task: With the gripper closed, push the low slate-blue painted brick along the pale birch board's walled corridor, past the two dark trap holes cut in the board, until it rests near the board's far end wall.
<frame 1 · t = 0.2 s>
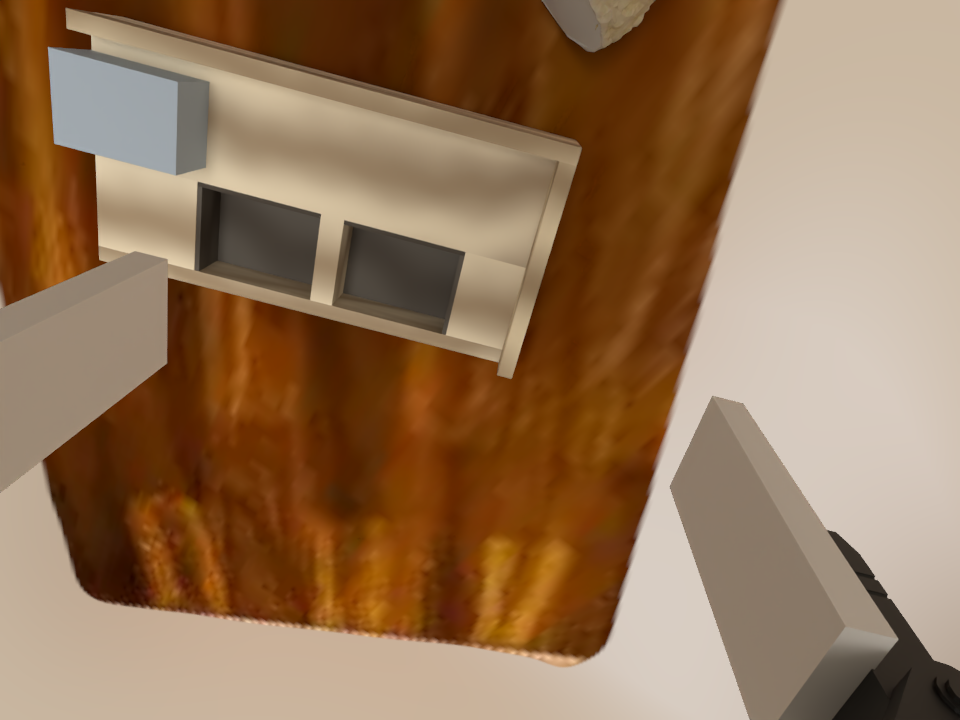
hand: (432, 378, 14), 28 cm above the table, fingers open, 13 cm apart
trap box: (336, 197, 40), on the table
block: (150, 110, 36), point 3 cm above the table, touching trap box
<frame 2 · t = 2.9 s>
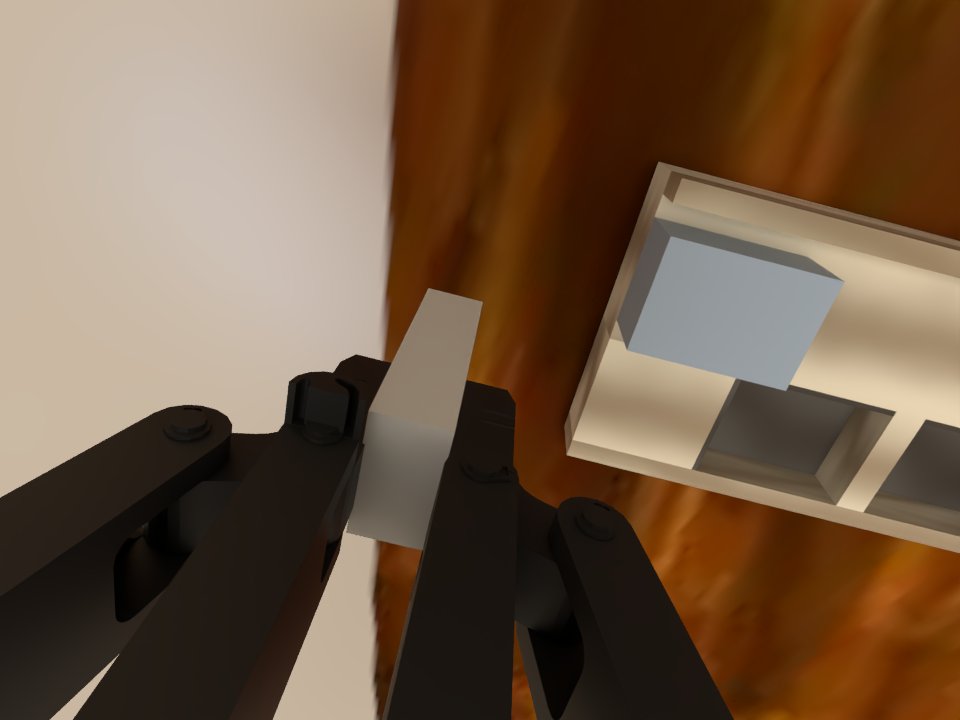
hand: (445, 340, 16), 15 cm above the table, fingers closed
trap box: (870, 375, 32), on the table
block: (708, 289, 27), point 3 cm above the table, touching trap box
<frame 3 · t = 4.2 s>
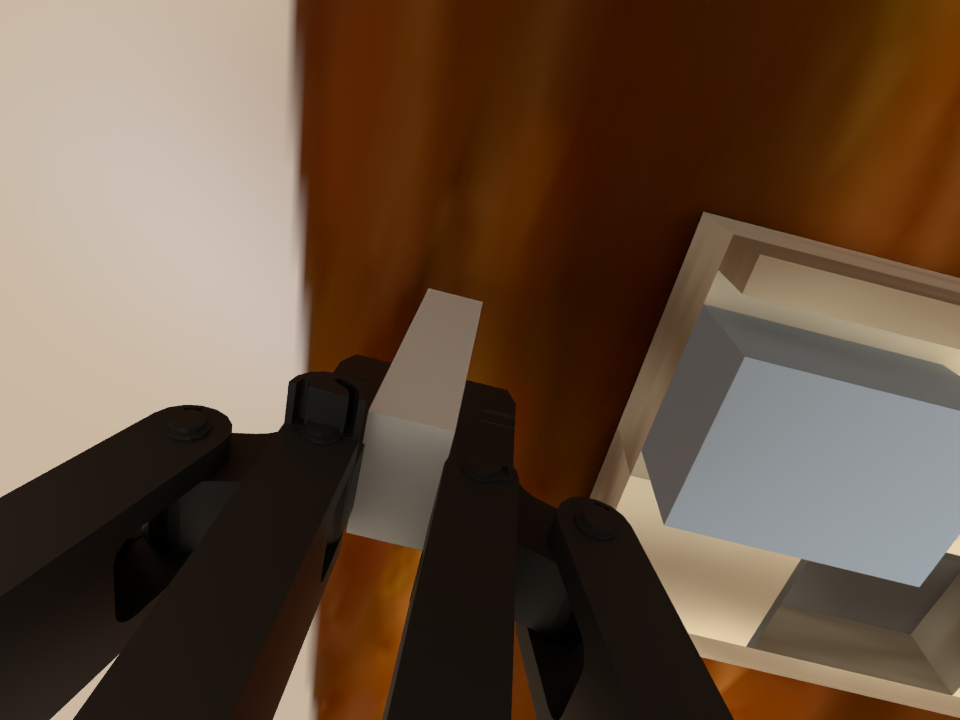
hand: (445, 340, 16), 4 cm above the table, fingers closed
block: (783, 409, 18), point 3 cm above the table, touching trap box
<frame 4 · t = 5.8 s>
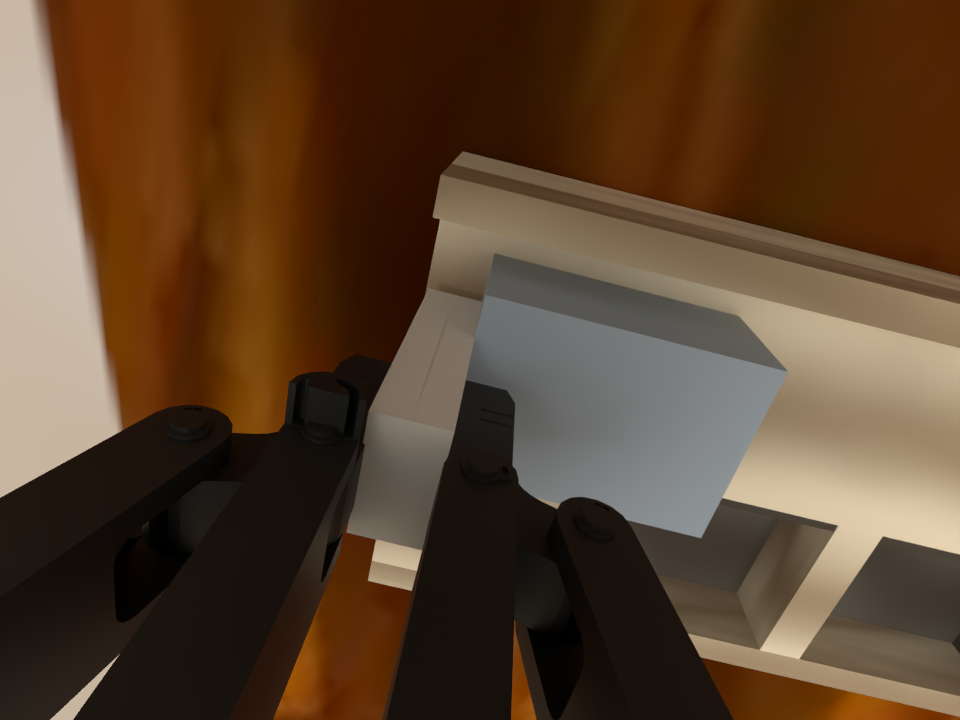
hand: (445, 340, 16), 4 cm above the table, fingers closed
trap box: (806, 459, 22), on the table
block: (589, 364, 17), point 3 cm above the table
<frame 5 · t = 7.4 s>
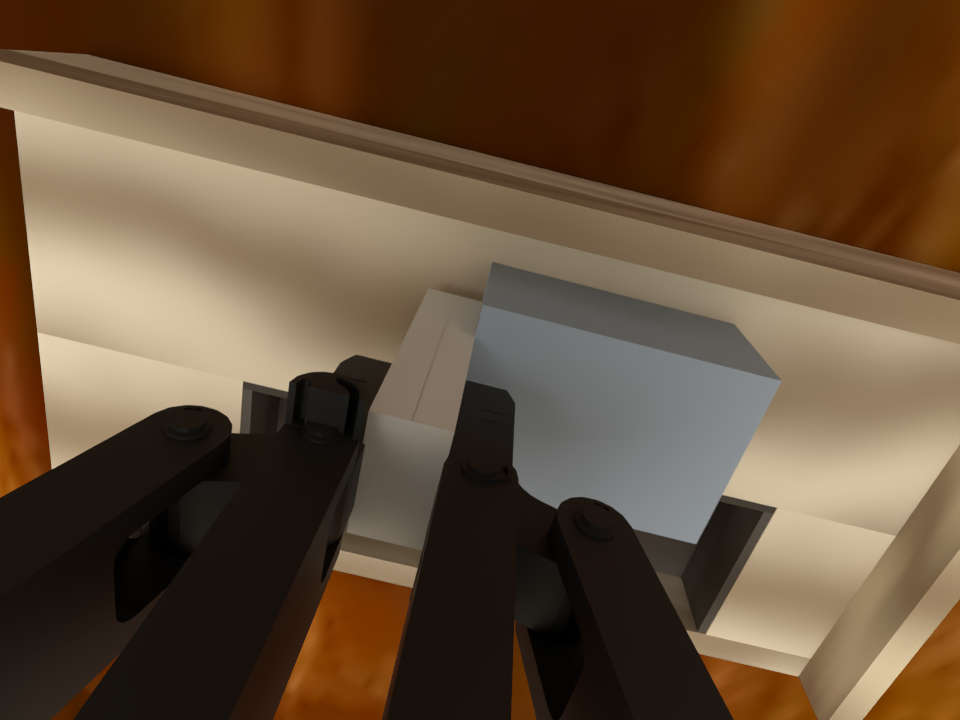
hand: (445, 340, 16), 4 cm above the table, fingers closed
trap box: (498, 383, 21), on the table
block: (586, 370, 18), point 3 cm above the table, touching gripper
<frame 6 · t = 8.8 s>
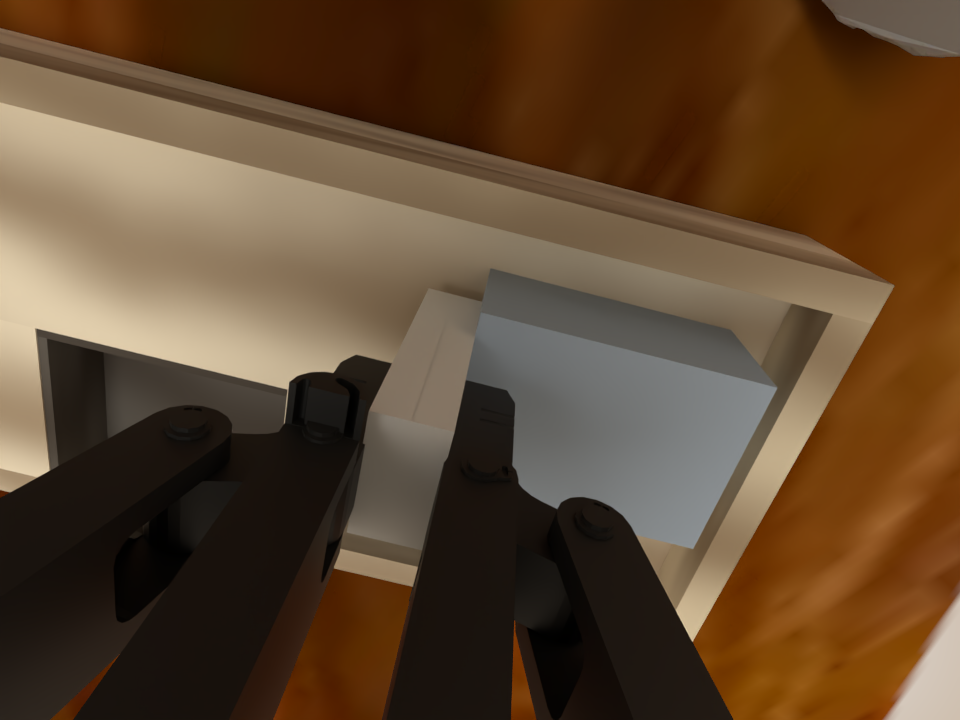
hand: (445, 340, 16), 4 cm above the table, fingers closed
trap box: (319, 338, 21), on the table
block: (584, 376, 18), point 3 cm above the table, touching gripper, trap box
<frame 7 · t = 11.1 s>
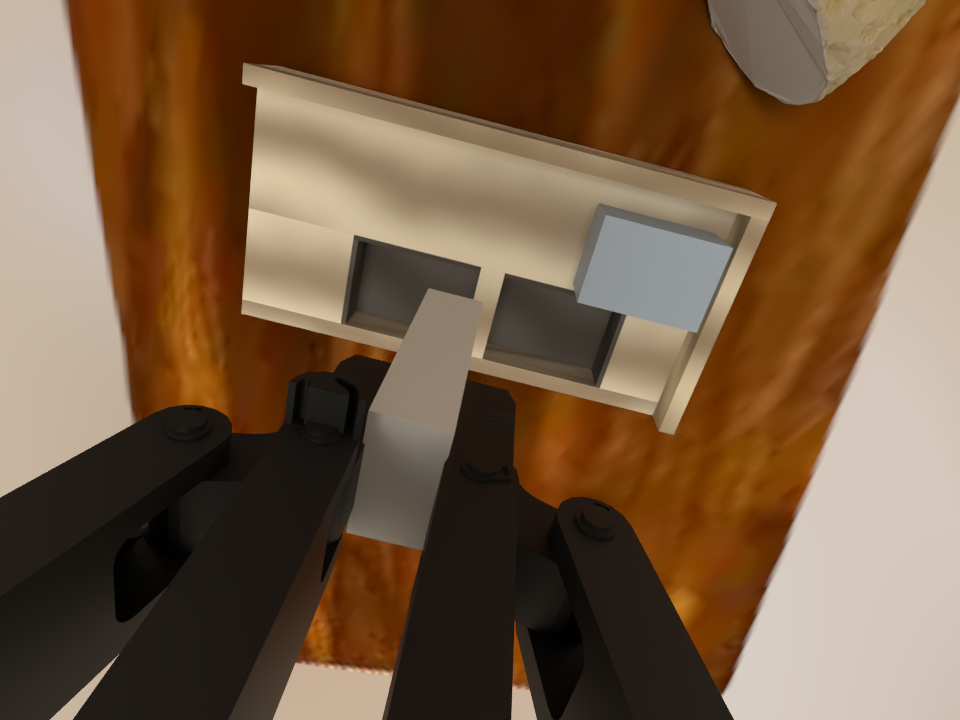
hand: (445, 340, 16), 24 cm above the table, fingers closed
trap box: (486, 247, 39), on the table
block: (641, 259, 36), point 3 cm above the table, touching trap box
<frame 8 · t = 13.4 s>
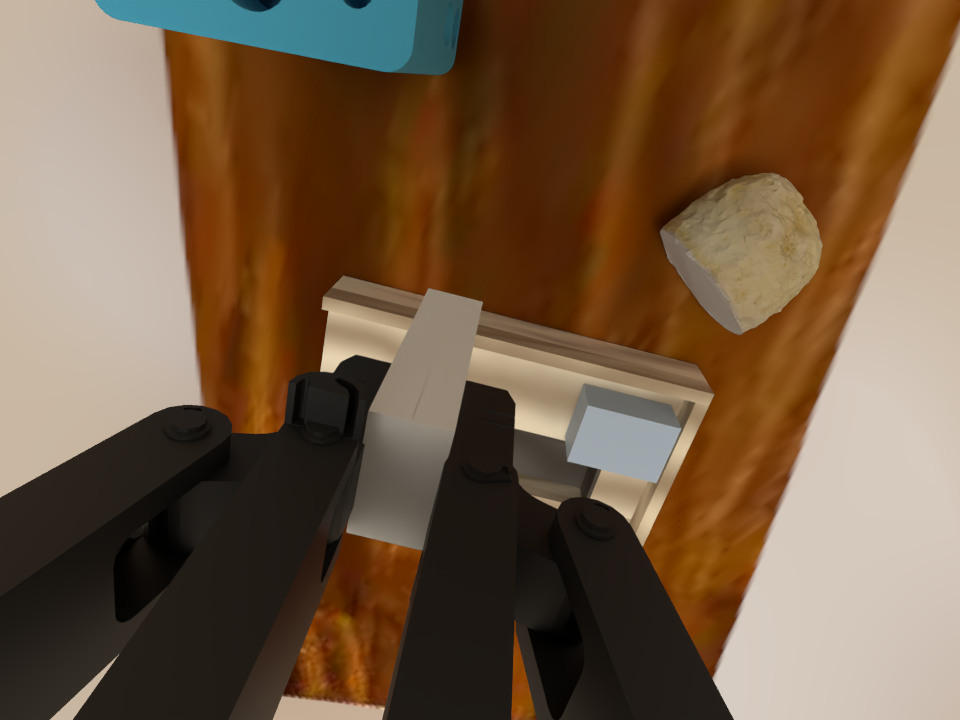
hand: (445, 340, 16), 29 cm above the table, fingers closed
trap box: (498, 400, 51), on the table
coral: (722, 237, 44), on the table
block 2: (380, 19, 39), on the table
block: (616, 420, 47), point 3 cm above the table, touching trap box
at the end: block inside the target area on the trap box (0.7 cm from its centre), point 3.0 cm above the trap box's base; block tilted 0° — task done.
